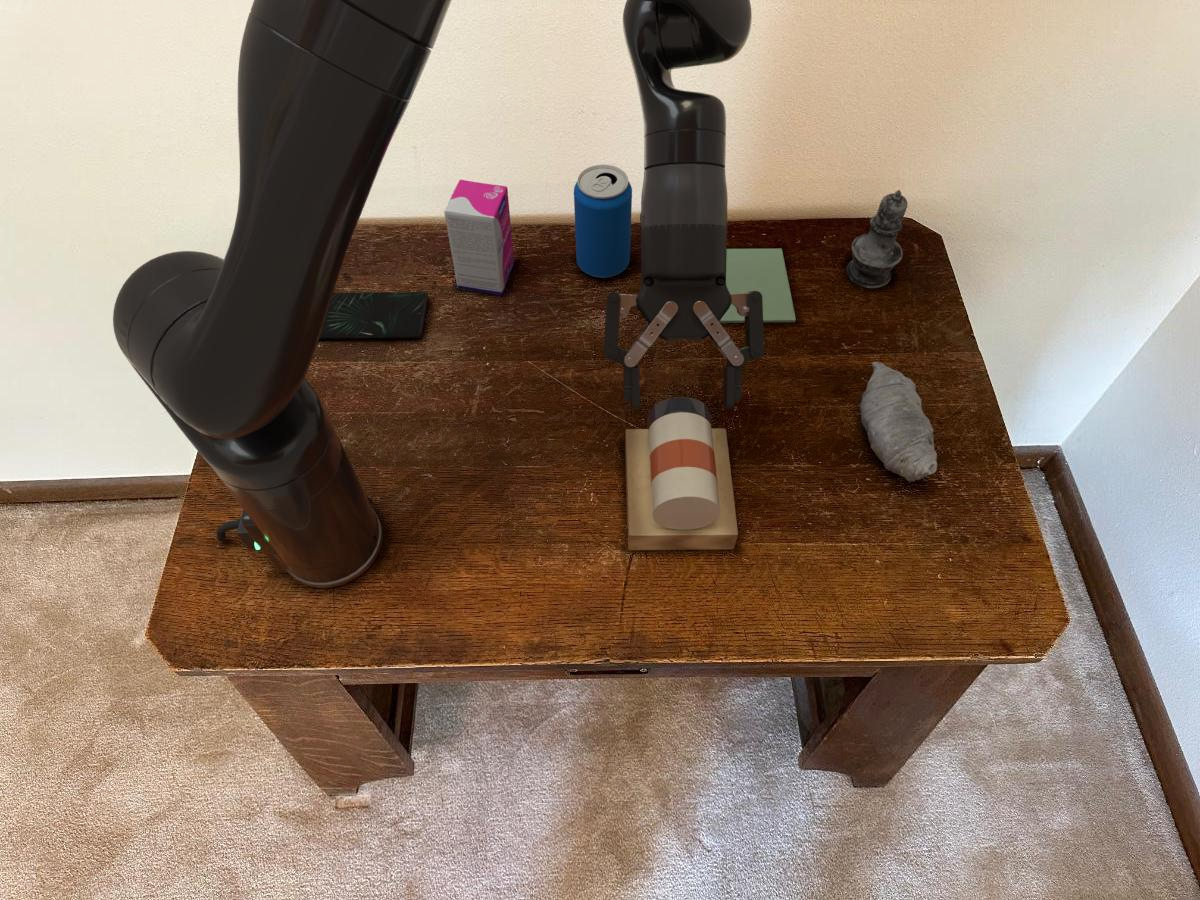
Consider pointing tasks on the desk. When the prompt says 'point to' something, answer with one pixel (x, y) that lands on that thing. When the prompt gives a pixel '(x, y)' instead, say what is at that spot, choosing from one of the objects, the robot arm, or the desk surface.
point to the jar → (682, 464)
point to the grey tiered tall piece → (879, 245)
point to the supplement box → (480, 236)
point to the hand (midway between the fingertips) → (682, 407)
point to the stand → (639, 502)
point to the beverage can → (603, 220)
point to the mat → (759, 283)
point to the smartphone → (375, 315)
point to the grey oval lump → (898, 424)
